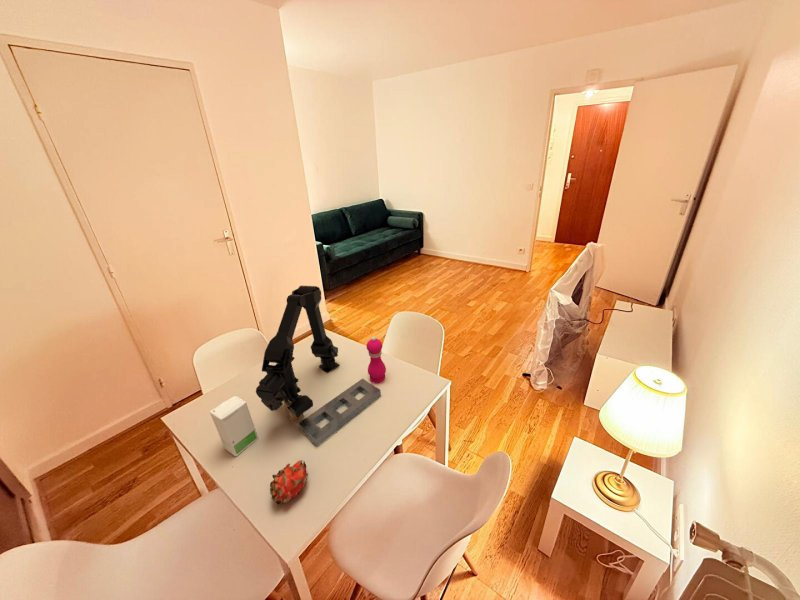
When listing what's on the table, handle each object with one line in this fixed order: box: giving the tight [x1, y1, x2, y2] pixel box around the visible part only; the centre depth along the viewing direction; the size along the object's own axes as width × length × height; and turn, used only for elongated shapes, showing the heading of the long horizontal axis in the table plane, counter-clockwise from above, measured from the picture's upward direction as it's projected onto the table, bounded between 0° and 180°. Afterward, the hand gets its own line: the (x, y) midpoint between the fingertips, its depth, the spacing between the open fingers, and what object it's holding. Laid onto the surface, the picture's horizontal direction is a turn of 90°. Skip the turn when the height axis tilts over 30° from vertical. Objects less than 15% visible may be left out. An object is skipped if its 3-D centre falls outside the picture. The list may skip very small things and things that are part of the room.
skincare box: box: [209, 395, 259, 457], centre depth 92 cm, size 8×7×16 cm
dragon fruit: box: [269, 459, 309, 506], centre depth 80 cm, size 8×8×12 cm
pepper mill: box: [366, 336, 387, 385], centre depth 116 cm, size 7×7×20 cm
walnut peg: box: [282, 400, 305, 424], centre depth 102 cm, size 4×4×8 cm
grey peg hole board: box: [298, 378, 382, 447], centre depth 105 cm, size 10×28×3 cm, turn 138°
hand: (295, 413), depth 103 cm, fingers closed on walnut peg, 4 cm apart
